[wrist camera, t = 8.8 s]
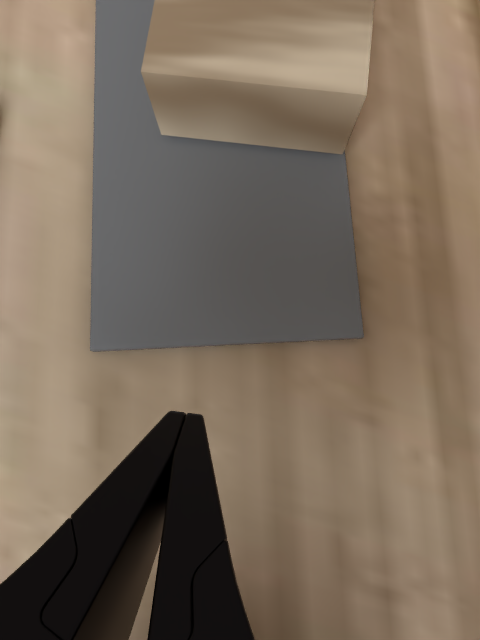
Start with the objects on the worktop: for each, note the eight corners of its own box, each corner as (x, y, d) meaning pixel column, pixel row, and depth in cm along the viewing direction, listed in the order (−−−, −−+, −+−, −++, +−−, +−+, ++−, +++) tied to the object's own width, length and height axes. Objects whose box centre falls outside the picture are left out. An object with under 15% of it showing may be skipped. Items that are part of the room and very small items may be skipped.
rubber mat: (361, 338, 21) (363, 337, 21) (93, 351, 21) (90, 350, 21) (324, -22, 25) (326, -30, 25) (99, -10, 25) (96, -19, 25)
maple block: (366, 95, 18) (382, -99, 20) (141, 71, 18) (177, -116, 20) (340, 158, 23) (355, -1, 24) (162, 139, 23) (190, -17, 25)
